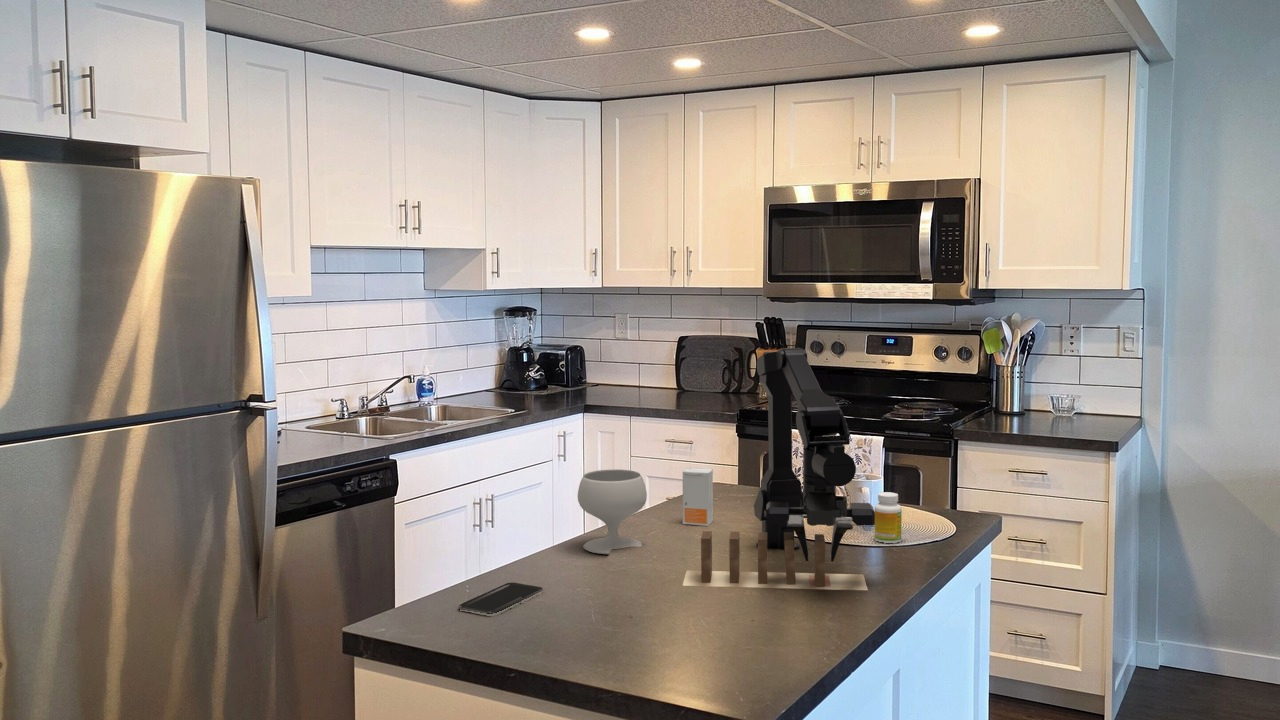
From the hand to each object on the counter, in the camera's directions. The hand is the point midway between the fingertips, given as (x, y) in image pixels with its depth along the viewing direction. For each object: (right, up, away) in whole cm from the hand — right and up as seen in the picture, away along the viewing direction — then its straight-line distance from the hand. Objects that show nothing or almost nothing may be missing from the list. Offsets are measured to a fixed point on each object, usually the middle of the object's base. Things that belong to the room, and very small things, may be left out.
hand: (819, 561), depth 186 cm
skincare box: (-19, -1, +46) cm, 50 cm away
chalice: (-37, -3, +27) cm, 46 cm away
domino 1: (-20, -4, +3) cm, 20 cm away
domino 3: (-10, -4, +2) cm, 11 cm away
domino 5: (0, -4, 0) cm, 4 cm away
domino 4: (-5, -4, +1) cm, 6 cm away
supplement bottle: (+19, -2, +30) cm, 35 cm away
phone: (-56, -7, -5) cm, 56 cm away
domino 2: (-15, -4, +2) cm, 15 cm away
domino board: (-8, -5, +1) cm, 9 cm away
